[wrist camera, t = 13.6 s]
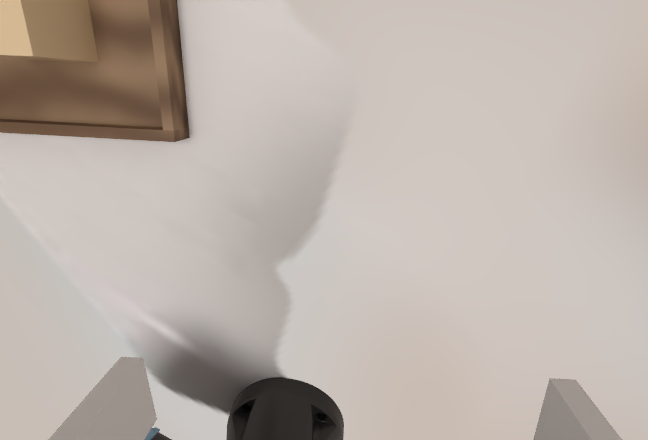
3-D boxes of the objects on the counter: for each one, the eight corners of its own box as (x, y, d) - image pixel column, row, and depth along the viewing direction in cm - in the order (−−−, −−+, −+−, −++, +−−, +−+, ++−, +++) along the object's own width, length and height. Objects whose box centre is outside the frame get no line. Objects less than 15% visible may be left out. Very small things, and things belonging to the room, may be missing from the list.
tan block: (98, 62, 32) (33, 56, 26) (26, 59, 33) (-56, 52, 26) (83, -28, 30) (6, -61, 23) (6, -30, 30) (-91, -62, 24)
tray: (189, 137, 35) (174, 141, 32) (-17, 126, 37) (-48, 129, 34) (165, -119, 28) (144, -142, 25) (-89, -120, 29) (-136, -142, 27)
